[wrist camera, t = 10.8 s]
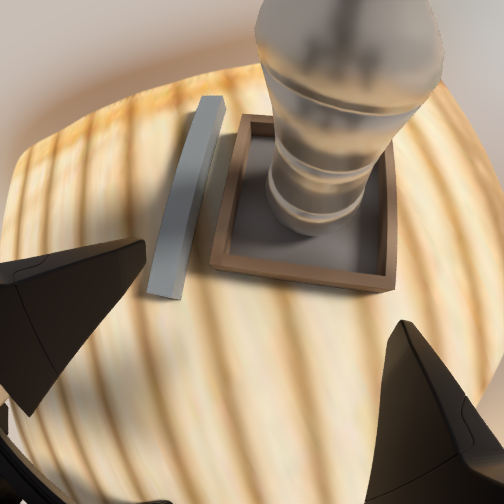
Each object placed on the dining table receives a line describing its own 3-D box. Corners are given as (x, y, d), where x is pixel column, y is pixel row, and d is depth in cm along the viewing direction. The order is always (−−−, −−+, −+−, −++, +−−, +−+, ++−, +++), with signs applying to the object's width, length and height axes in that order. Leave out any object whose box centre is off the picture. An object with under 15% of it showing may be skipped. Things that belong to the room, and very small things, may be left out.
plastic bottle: (255, 180, 22) (203, -99, 2) (332, 157, 22) (387, -87, 2) (284, 256, 20) (305, -115, 1) (366, 227, 20) (534, -10, 1)
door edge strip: (181, 300, 20) (171, 298, 18) (157, 295, 21) (146, 292, 19) (226, 109, 24) (222, 95, 22) (206, 109, 24) (202, 95, 23)
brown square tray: (382, 292, 19) (394, 289, 17) (216, 269, 21) (208, 263, 18) (382, 151, 22) (391, 136, 19) (245, 131, 23) (242, 113, 21)
